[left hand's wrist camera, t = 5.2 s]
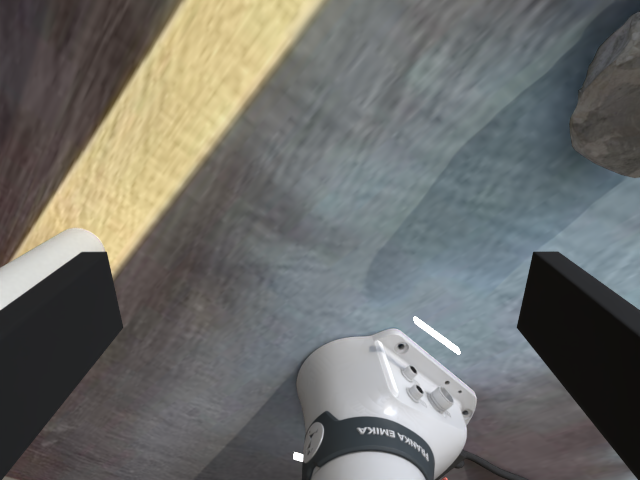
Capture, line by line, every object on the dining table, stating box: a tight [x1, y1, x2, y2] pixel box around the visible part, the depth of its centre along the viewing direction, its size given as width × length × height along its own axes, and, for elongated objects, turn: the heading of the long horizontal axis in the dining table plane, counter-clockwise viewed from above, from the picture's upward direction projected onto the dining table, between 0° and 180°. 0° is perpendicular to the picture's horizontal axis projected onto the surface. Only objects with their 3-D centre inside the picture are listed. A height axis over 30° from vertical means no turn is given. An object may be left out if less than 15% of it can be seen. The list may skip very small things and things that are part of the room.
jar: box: [0, 228, 105, 310], centre depth 34 cm, size 5×5×19 cm
